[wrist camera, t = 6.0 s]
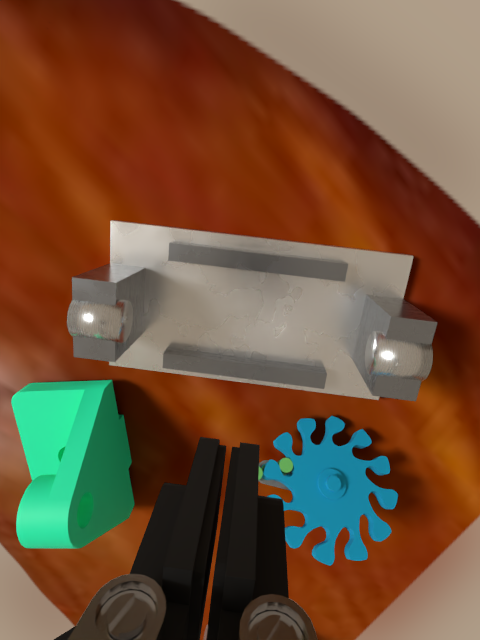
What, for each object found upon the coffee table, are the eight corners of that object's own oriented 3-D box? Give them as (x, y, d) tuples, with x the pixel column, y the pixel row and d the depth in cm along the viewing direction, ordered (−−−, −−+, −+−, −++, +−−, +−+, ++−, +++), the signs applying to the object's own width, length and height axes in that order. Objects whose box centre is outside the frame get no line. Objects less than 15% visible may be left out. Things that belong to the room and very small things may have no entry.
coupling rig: (375, 394, 30) (408, 450, 23) (113, 360, 30) (69, 405, 24) (409, 254, 27) (458, 271, 20) (115, 220, 27) (64, 224, 20)
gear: (402, 430, 29) (402, 583, 24) (370, 445, 35) (364, 574, 30) (264, 395, 29) (236, 542, 24) (252, 415, 35) (227, 539, 30)
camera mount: (28, 377, 32) (-79, 454, 22) (117, 374, 31) (47, 452, 21) (58, 496, 35) (-23, 608, 25) (138, 495, 34) (87, 610, 25)
